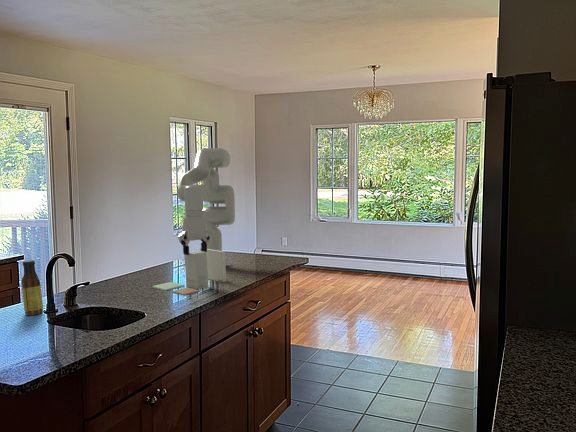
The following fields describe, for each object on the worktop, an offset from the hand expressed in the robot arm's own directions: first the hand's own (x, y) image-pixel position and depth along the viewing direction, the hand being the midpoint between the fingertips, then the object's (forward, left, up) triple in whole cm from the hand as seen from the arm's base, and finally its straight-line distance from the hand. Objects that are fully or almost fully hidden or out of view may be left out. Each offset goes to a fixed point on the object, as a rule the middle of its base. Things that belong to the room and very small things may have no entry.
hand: (195, 253), depth 231 cm
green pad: (+8, -10, -15) cm, 20 cm away
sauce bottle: (+64, -15, -15) cm, 67 cm away
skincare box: (0, 0, -15) cm, 15 cm away
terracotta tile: (+9, +4, -15) cm, 18 cm away
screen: (-14, -5, -15) cm, 21 cm away
